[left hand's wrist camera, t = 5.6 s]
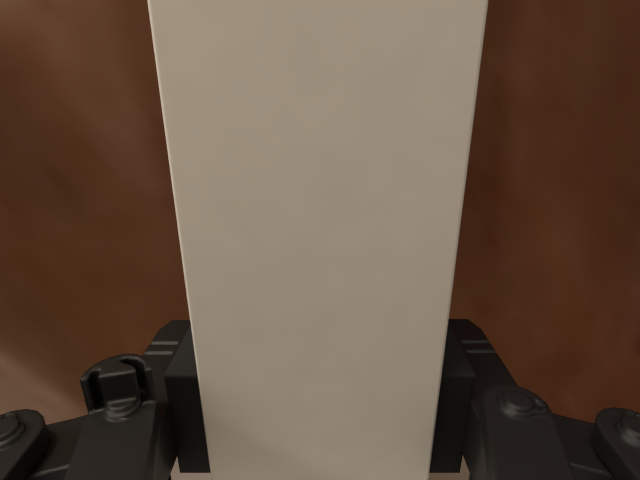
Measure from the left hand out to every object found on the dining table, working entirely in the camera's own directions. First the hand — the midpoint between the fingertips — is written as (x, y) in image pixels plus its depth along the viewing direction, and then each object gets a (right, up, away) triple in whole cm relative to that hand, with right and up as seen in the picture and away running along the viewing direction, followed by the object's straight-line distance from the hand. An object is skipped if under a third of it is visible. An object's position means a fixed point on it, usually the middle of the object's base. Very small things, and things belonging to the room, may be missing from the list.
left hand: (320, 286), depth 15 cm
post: (0, +32, -12) cm, 34 cm away
